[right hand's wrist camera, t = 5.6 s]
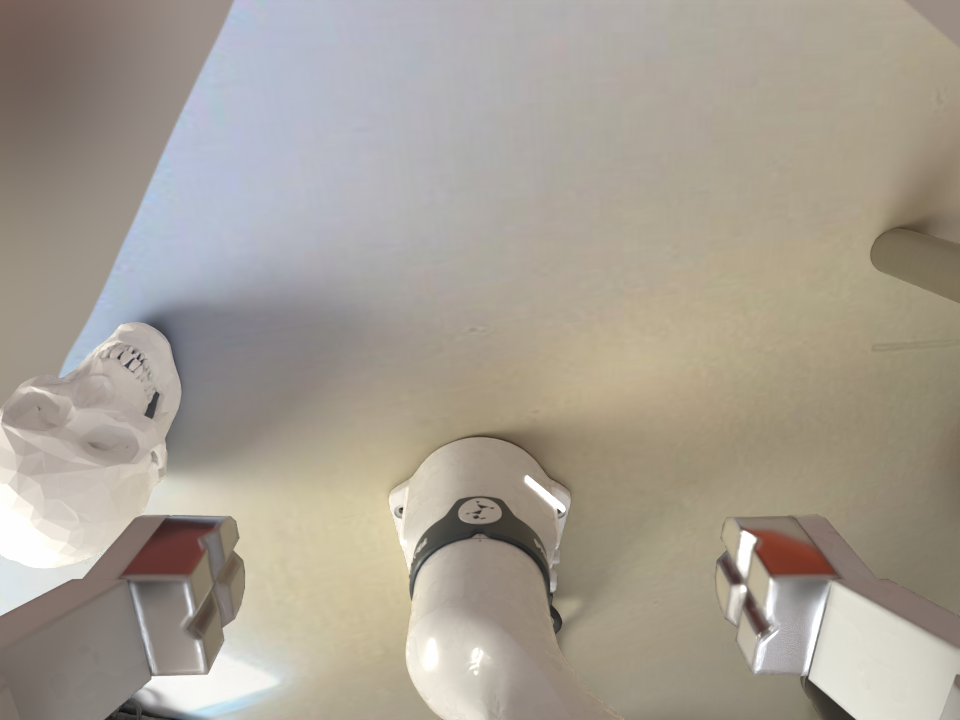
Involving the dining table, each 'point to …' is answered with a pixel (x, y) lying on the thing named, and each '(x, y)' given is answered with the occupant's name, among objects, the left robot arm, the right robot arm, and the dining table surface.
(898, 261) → the silver metal cylinder
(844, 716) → the left robot arm
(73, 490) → the skull
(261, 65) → the dining table surface
